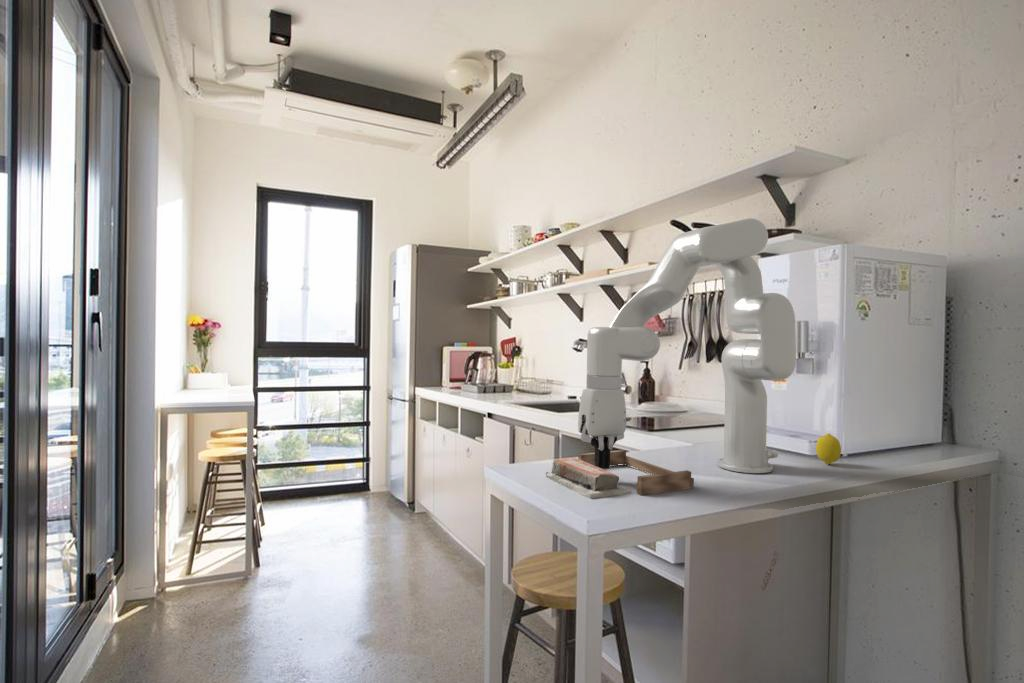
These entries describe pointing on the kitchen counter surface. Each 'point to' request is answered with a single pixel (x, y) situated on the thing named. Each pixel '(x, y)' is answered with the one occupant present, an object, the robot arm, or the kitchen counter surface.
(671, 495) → the kitchen counter surface
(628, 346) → the robot arm
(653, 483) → the wooden rolling pin rack
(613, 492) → the packaged product
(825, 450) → the lemon
